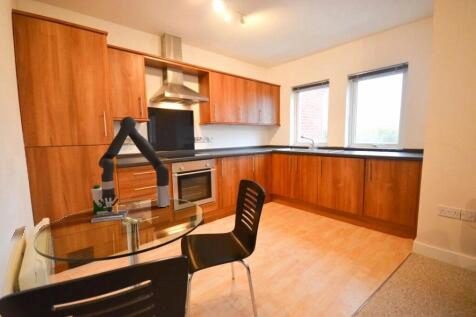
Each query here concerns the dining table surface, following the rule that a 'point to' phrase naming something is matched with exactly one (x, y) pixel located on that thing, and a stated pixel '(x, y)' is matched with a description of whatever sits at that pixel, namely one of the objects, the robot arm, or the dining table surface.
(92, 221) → the panel
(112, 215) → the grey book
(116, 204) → the breaker lever
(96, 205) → the milk carton
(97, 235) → the dining table surface
